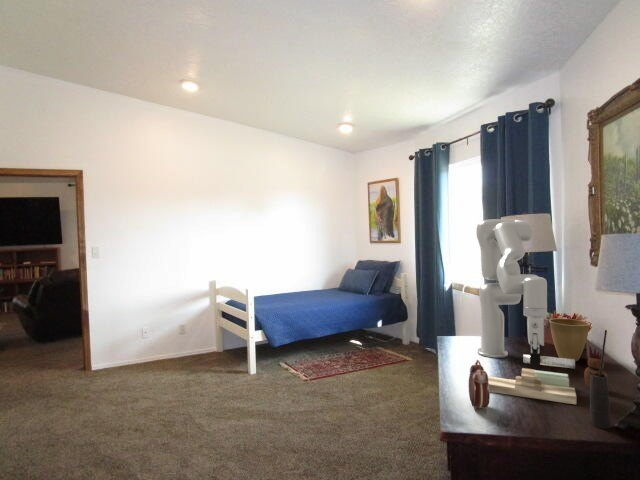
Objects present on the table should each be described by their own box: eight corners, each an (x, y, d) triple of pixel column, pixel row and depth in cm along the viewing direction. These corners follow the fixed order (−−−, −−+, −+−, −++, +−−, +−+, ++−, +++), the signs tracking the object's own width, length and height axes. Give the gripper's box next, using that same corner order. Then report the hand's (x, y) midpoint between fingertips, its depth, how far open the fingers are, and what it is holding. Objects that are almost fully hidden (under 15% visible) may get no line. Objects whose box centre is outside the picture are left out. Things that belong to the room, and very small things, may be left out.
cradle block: (533, 382, 159) (533, 369, 159) (567, 386, 154) (567, 374, 154) (533, 388, 153) (533, 376, 153) (569, 393, 148) (569, 380, 148)
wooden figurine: (580, 387, 153) (581, 345, 153) (591, 385, 156) (592, 343, 155) (599, 394, 147) (600, 350, 147) (610, 391, 149) (611, 348, 149)
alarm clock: (490, 416, 132) (490, 366, 131) (473, 415, 132) (473, 366, 132) (483, 401, 142) (483, 356, 142) (467, 400, 143) (467, 355, 143)
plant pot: (595, 364, 178) (596, 326, 177) (556, 363, 180) (557, 325, 180) (580, 354, 192) (580, 318, 192) (544, 353, 195) (544, 317, 194)
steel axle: (523, 363, 156) (523, 355, 156) (523, 361, 158) (523, 353, 158) (575, 369, 148) (574, 360, 148) (574, 367, 151) (574, 358, 151)
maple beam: (485, 382, 159) (485, 363, 159) (574, 395, 147) (574, 374, 146) (483, 390, 152) (483, 370, 151) (576, 404, 139) (576, 382, 139)
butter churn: (569, 418, 129) (570, 325, 128) (596, 415, 131) (597, 322, 130) (595, 432, 120) (596, 332, 119) (623, 428, 122) (625, 330, 122)
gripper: (547, 316, 146) (547, 371, 146) (546, 308, 161) (546, 358, 161) (522, 315, 149) (522, 368, 150) (524, 307, 164) (524, 355, 164)
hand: (535, 362), depth 155 cm, fingers closed on steel axle, 3 cm apart
